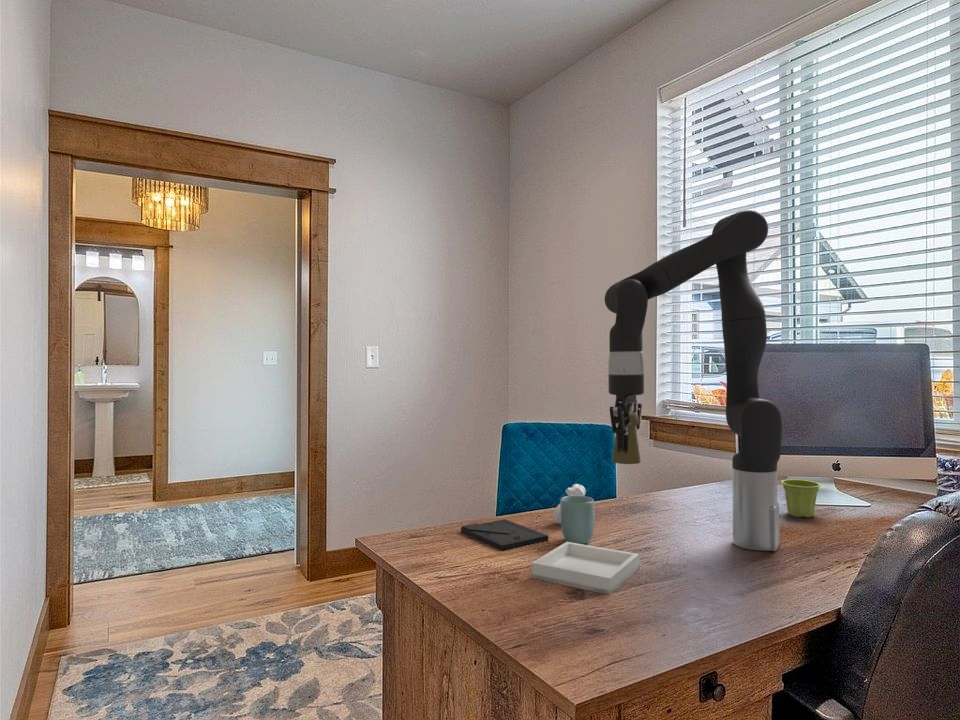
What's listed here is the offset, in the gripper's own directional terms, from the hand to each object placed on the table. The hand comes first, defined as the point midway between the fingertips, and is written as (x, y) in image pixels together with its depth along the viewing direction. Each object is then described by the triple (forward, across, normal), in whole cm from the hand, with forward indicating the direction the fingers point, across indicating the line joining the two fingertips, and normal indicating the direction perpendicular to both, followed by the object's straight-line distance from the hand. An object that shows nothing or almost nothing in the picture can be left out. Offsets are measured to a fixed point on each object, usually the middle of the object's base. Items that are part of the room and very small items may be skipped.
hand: (626, 451), depth 131 cm
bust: (+23, +17, +21) cm, 35 cm away
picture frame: (+23, -3, +30) cm, 38 cm away
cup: (+23, +2, +13) cm, 26 cm away
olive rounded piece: (+2, 0, 0) cm, 2 cm away
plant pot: (+22, +56, -28) cm, 67 cm away
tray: (+22, -16, +3) cm, 28 cm away
